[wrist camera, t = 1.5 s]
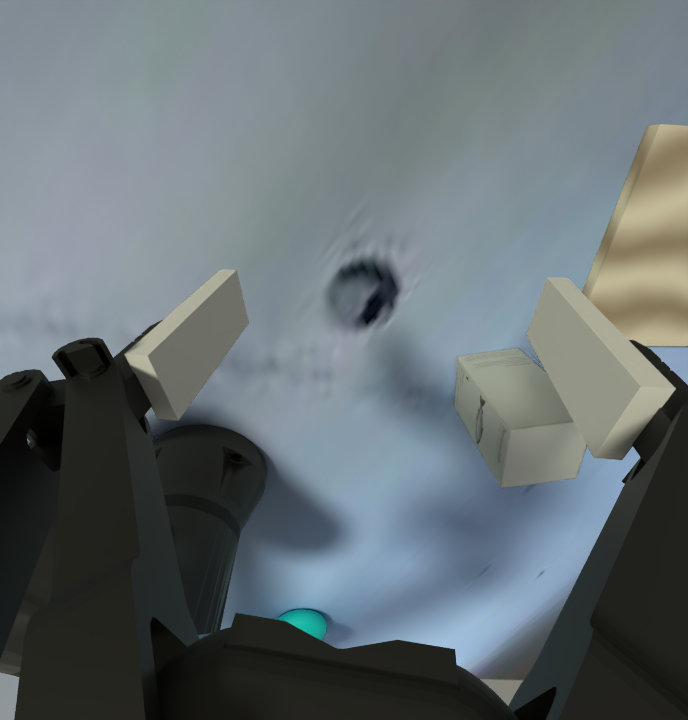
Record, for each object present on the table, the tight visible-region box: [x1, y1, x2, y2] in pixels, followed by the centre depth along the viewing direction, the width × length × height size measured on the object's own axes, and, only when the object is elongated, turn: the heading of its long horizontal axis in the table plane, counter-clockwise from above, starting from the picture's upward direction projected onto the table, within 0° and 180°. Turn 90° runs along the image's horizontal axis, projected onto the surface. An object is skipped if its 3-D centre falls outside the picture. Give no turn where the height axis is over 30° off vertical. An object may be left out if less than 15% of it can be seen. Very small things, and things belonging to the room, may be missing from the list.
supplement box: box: [454, 348, 587, 488], centre depth 34 cm, size 7×7×13 cm
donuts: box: [277, 609, 327, 640], centre depth 60 cm, size 10×10×10 cm
